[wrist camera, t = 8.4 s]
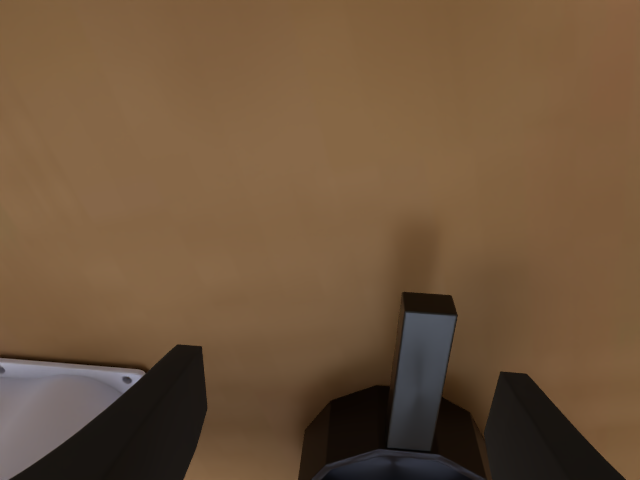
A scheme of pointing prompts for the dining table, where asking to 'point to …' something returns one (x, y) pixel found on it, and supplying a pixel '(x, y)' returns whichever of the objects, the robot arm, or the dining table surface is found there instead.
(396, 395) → the pan
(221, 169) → the dining table surface
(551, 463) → the robot arm
